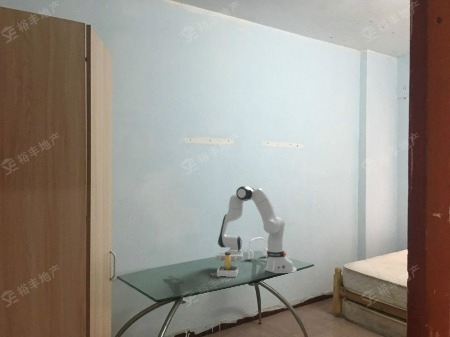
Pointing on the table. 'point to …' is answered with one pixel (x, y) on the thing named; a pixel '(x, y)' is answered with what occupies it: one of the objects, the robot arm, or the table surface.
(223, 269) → the walled box
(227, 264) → the cylinder
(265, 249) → the headset
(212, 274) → the table surface
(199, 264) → the table surface
